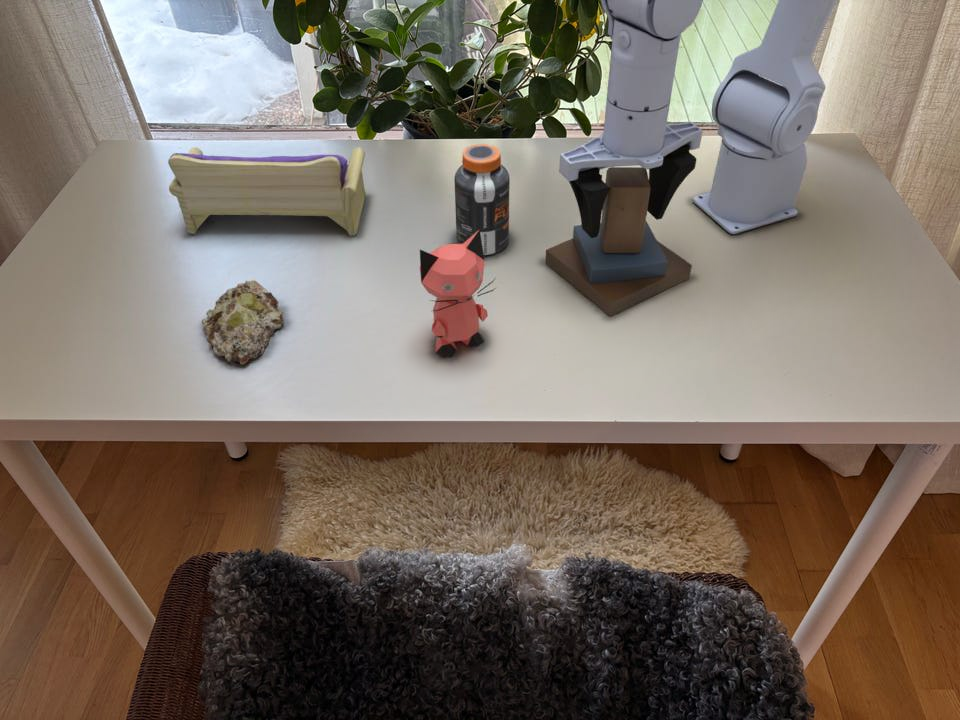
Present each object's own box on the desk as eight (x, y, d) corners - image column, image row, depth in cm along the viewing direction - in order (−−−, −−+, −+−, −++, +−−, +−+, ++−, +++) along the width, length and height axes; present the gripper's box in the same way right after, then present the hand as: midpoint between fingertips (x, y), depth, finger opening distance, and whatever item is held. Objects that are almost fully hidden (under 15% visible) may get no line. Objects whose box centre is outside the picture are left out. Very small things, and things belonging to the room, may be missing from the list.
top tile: (643, 232, 86) (645, 218, 85) (665, 276, 80) (668, 262, 79) (572, 239, 85) (573, 225, 84) (590, 284, 80) (591, 270, 78)
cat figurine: (439, 373, 73) (431, 272, 65) (408, 331, 78) (397, 231, 69) (504, 347, 76) (504, 247, 67) (470, 308, 80) (467, 209, 72)
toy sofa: (371, 196, 96) (361, 118, 88) (362, 237, 89) (350, 157, 82) (204, 196, 96) (180, 119, 89) (183, 237, 90) (155, 158, 83)
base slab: (621, 229, 89) (623, 216, 88) (689, 278, 83) (692, 264, 82) (545, 262, 85) (545, 249, 84) (610, 316, 79) (611, 303, 77)
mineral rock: (198, 284, 80) (269, 260, 79) (220, 313, 83) (289, 290, 82) (185, 358, 72) (264, 333, 72) (210, 387, 76) (286, 363, 75)
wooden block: (602, 254, 80) (609, 187, 75) (599, 232, 83) (606, 165, 77) (641, 254, 80) (651, 187, 74) (637, 232, 83) (647, 165, 77)
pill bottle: (503, 259, 86) (504, 169, 78) (451, 254, 87) (446, 164, 79) (513, 229, 90) (514, 140, 82) (463, 224, 91) (459, 135, 83)
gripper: (589, 133, 66) (578, 262, 75) (731, 99, 70) (704, 226, 79) (551, 99, 70) (545, 224, 80) (686, 69, 74) (666, 192, 84)
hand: (622, 223), depth 80 cm, fingers open, 7 cm apart
